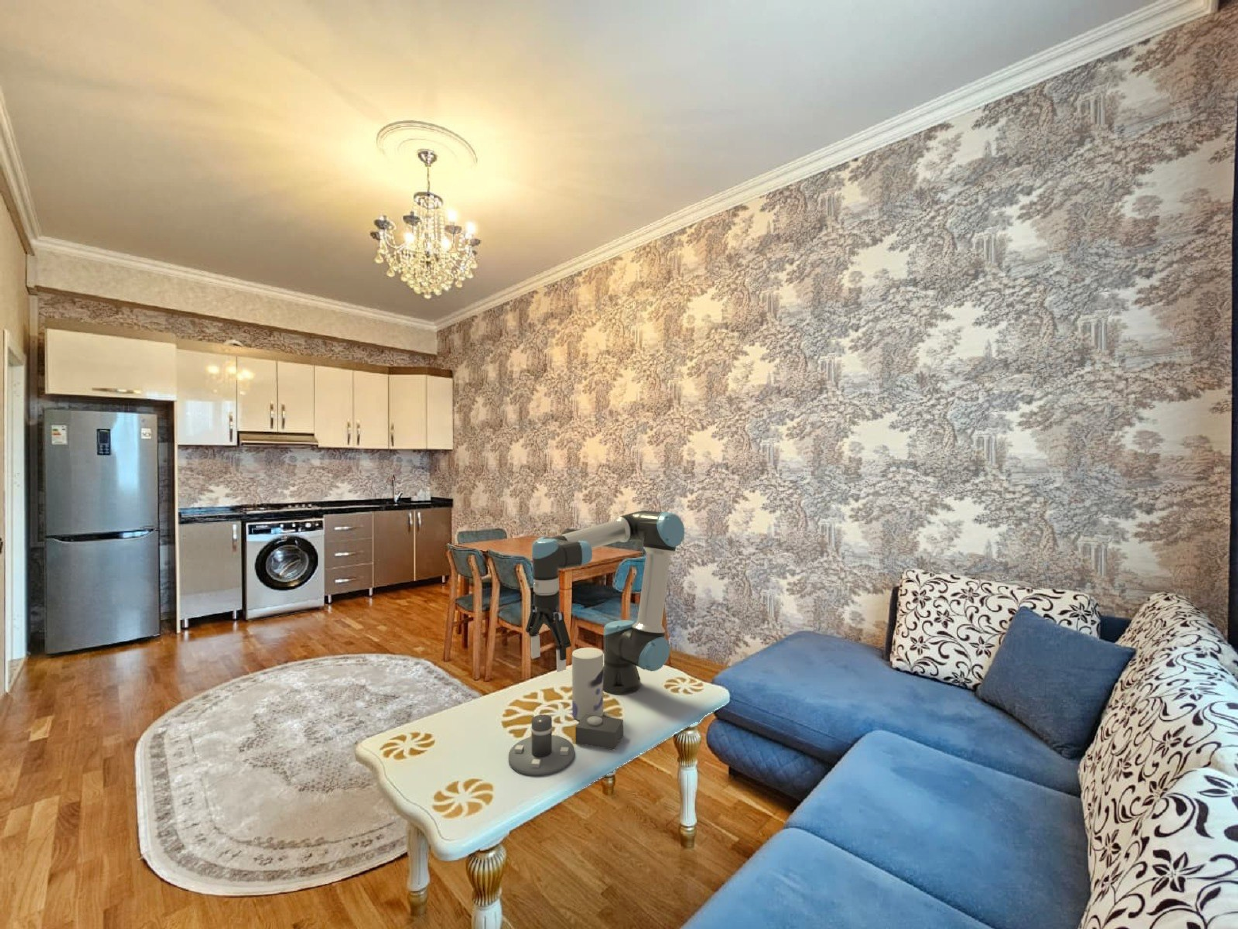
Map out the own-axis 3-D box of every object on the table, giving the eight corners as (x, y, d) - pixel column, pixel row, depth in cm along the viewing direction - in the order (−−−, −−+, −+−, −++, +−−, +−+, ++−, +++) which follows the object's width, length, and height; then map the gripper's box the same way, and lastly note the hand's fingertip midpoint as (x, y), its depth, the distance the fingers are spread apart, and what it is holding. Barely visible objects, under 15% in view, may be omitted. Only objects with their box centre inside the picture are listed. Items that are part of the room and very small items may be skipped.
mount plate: (551, 732, 153) (551, 725, 153) (587, 758, 139) (587, 750, 139) (496, 754, 142) (496, 746, 142) (529, 784, 128) (529, 776, 128)
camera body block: (623, 736, 151) (622, 716, 151) (615, 750, 144) (615, 730, 144) (585, 730, 155) (585, 711, 155) (575, 744, 147) (575, 724, 147)
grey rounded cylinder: (545, 744, 144) (545, 712, 144) (556, 752, 140) (556, 720, 140) (527, 751, 141) (527, 718, 141) (538, 760, 136) (538, 726, 136)
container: (599, 723, 158) (598, 659, 159) (568, 720, 160) (568, 657, 161) (606, 708, 168) (606, 648, 168) (577, 706, 170) (577, 646, 170)
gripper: (513, 587, 157) (515, 655, 157) (560, 603, 138) (562, 680, 138) (534, 582, 162) (536, 649, 162) (582, 597, 143) (584, 672, 143)
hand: (548, 663), depth 150 cm, fingers open, 13 cm apart
